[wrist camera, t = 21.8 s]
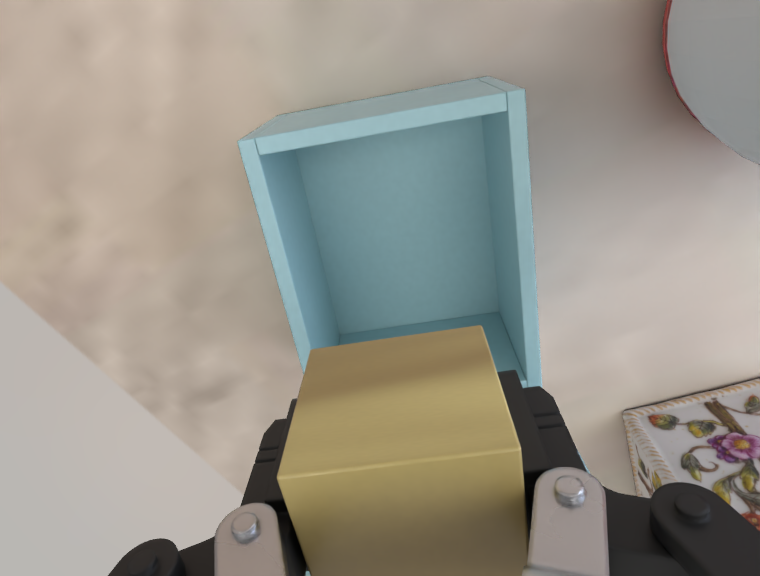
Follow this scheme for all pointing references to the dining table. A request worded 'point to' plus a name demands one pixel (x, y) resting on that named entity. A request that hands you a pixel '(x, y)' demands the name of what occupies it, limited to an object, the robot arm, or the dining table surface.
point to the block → (406, 460)
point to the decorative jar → (701, 445)
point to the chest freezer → (403, 218)
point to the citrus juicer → (717, 67)
